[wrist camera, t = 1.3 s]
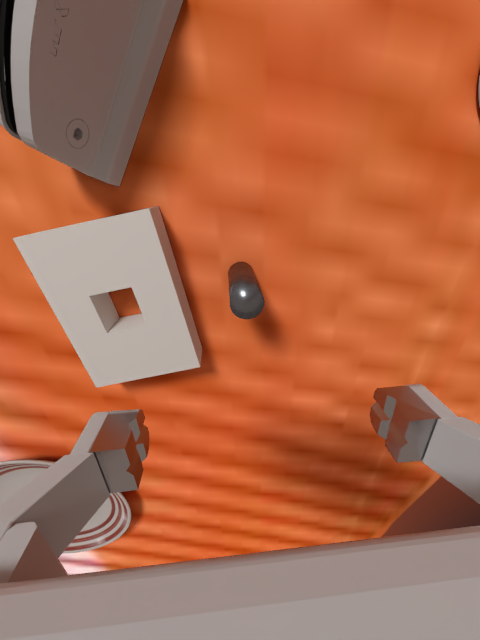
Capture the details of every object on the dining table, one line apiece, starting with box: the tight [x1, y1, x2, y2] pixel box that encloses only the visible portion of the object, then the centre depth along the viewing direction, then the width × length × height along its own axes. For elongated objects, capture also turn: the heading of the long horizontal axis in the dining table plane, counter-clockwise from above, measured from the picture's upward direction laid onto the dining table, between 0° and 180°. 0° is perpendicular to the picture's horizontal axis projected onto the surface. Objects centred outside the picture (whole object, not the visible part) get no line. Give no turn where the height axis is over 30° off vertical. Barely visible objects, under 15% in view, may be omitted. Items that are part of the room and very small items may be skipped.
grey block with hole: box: [13, 206, 202, 388], centre depth 30 cm, size 13×18×4 cm
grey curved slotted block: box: [0, 0, 183, 187], centre depth 20 cm, size 17×5×10 cm, turn 150°
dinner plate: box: [0, 459, 131, 553], centre depth 46 cm, size 27×27×3 cm
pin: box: [228, 262, 264, 319], centre depth 28 cm, size 3×3×9 cm
